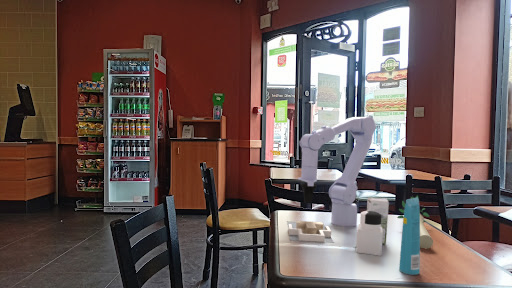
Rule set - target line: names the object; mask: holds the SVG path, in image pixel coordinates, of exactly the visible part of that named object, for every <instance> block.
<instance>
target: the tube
mask: <svg viewBox="0 0 512 288" xmlns="http://www.w3.org/2000/svg"><path fill="white" fill-rule="evenodd" d="M418 197H419V196H418ZM418 197H417V198H416V197H414V198H413V199H411V198H408V199H406V200H405V207H404V210H405V211H404V213H403V217H404V218H402V220H403V222H402V229H401V230H402V231H401V243H400V244H401V245H400V254H399V256H400V257H399V264H398V268H399V271H400V272H401V273H402V272H403V273H402V274H405V275H410V276H411V275H412V276H414V275H420V268H421V267H420V265H421V263H420V262H421V261H420V257H421V248H420V214H421V213H420V212H421V209H420V206H419V204H420V199H418Z"/></svg>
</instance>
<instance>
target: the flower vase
mask: <svg viewBox="0 0 512 288" xmlns="http://www.w3.org/2000/svg"><path fill="white" fill-rule="evenodd" d="M417 197H418V199H419V195H418V194H417V195H416V196H415V197H414V196H413V197H412V196H410V199H413V198H417ZM419 200H420V199H419ZM401 205H402V207H403V208H405V205H406V201H405V202H404V200H402V202H401ZM420 205H421V204H420V203H419V207H420ZM424 210H426V208H425V207H423V208H422V209H421V211H424ZM398 211H400V212H401V213H403V215H402V214H401V215H397V217H396V218H397V219H404V211H405V209H402V208H398ZM424 216H425V217H427V218H430V215H429V214H428V213H427V212H422V214H421V213H420V249H422V248H426V249H425V250H428V249H430V248H432V246H433V245H434V240H433V238H432V236H431V235H430V233H429V232H428V230H427V228H426V227H425V225H424V223H427V222H426V220H425V217H424Z"/></svg>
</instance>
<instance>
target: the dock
mask: <svg viewBox="0 0 512 288" xmlns="http://www.w3.org/2000/svg"><path fill="white" fill-rule="evenodd" d="M324 226H325V230H319V235H318V234H303V233H302V230H301V229H295V228H292V224H289V226H288V225H287V230H288V236H289V235H298V237H299V240H300V241H299V242H307V241H317V242H316V243H324V242H325V237H331V238H332V230H331V228H330V226H328V225H324Z"/></svg>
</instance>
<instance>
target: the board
mask: <svg viewBox="0 0 512 288" xmlns="http://www.w3.org/2000/svg"><path fill="white" fill-rule="evenodd" d="M286 223H287V227H288V226H289V224H292V228H295V229H296V221H286ZM325 226H326V225H325V224H324V223H323V230H325ZM303 234H304V233H303ZM318 235H319V234H318ZM288 237H289V241H292V242H293V241H294V242H301V241H300V240H299V237H298V235H289V234H288ZM306 242H307V243H309V242H311V243H318V242H317V241H306ZM323 243H324V244H325V243H326V244H335V242H334V240H333V238H332V236H331V237H325V242H323ZM300 244H303V243H300ZM317 245H320V244H317Z"/></svg>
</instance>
